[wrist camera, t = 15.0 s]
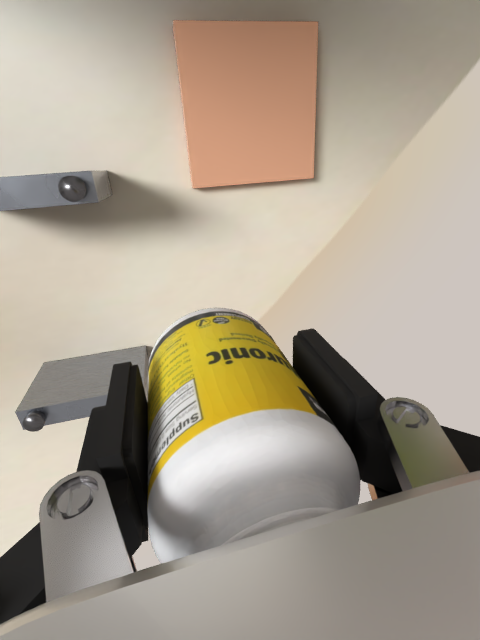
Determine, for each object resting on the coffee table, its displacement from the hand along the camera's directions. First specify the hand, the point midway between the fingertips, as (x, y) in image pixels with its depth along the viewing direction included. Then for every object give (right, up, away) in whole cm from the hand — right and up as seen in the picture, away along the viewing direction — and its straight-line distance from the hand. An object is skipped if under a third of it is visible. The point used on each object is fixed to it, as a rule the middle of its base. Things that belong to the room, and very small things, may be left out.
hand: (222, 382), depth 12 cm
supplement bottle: (-1, +1, +3) cm, 3 cm away
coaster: (+1, +16, +11) cm, 20 cm away
